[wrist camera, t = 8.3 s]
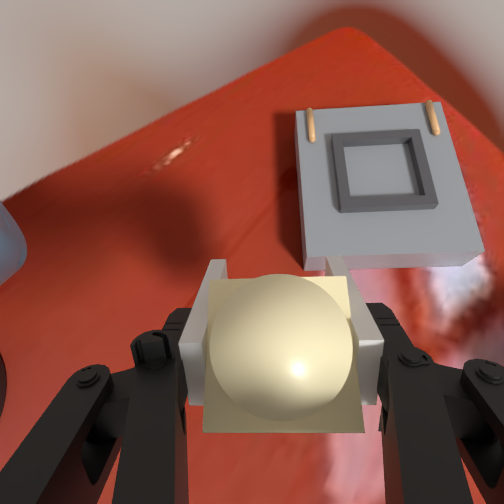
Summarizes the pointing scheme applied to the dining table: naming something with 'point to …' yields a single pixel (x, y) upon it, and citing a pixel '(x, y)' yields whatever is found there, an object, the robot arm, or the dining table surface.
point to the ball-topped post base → (382, 188)
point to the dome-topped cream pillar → (281, 357)
